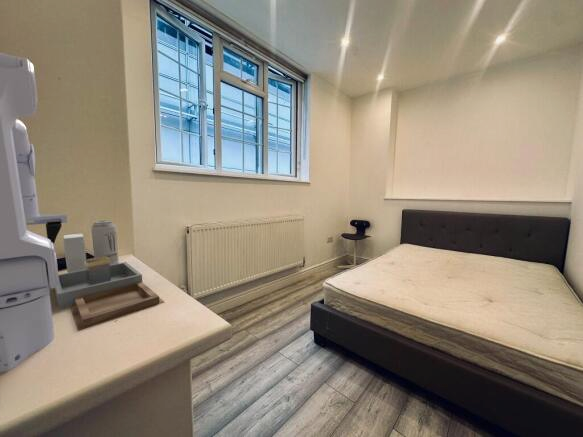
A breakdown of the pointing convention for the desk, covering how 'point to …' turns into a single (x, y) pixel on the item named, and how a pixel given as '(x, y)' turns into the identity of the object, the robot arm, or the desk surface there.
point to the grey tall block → (97, 270)
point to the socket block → (112, 304)
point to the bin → (77, 285)
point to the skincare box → (74, 252)
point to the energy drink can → (105, 240)
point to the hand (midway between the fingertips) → (25, 257)
